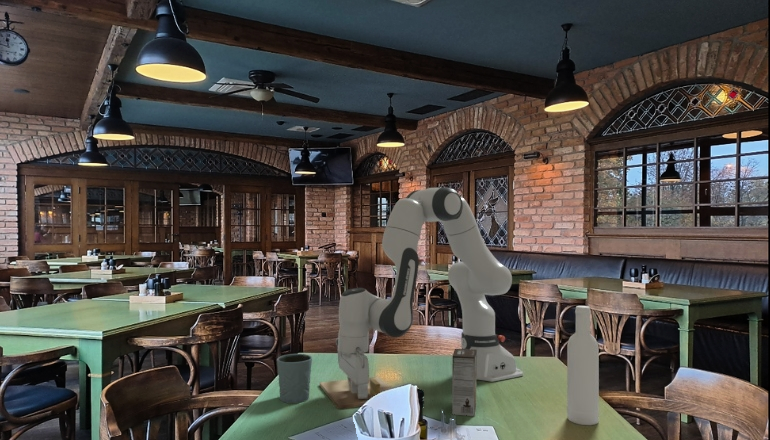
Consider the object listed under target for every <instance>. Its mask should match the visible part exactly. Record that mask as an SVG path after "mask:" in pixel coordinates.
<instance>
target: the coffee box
mask: <svg viewBox="0 0 770 440" xmlns="http://www.w3.org/2000/svg"><path fill="white" fill-rule="evenodd" d="M451 365H452V366H451V368H452V371H451V373H452V381H451V383H452V386H451V388H452V389H451V391H452V393H451V394H452V397H451V399H452V400H451V402H452V403H451V404H452V405H451V407H452V408H451V409H452V410H451V412H452V415H454V414H455V416H466V415H467V416H468V417H469V416H470V417H476V410H477V379H476V375H477V350H476V349H462V348H454V350H453V354H452V364H451Z"/></svg>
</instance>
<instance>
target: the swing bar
mask: <svg viewBox="0 0 770 440" xmlns="http://www.w3.org/2000/svg"><path fill="white" fill-rule="evenodd" d="M357 397H358V399H368V384H366V385H358V387H357Z"/></svg>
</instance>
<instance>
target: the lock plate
mask: <svg viewBox="0 0 770 440" xmlns="http://www.w3.org/2000/svg"><path fill="white" fill-rule="evenodd" d="M319 387H320V388H321V389H322V390H323V392H324V393H325V394H326V396H327V397H328V398H329V399H330V401H331V402H332V403H333V404H334V405H335V406H336V408H337V409H338V410H341V409H342V410H343V409H349V408H351V409H352V408H359V407H360V406H361V407H363V406H362V405H363V404H364V403H365V402H366V401H367V400H369V399H370V398H371V397H373V396H375V395H377V394H378V393H380V392H382V391H385V390H388V389H391V388H393V387H392V386H391V385H389V384H388V383H387V382H386V381H384V380H383V379H382V378H381V377H380V376H376V377H375V376H374V377H369V383H368V399H358V397H357V393H351V392H350V391H349V383H348V379H341V380H332V381H331V380H330V381H322V382H319ZM361 407H360V408H361Z"/></svg>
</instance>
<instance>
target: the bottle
mask: <svg viewBox="0 0 770 440" xmlns="http://www.w3.org/2000/svg"><path fill="white" fill-rule="evenodd" d="M590 307H591V306H588V305H576V307H575V311H574V313H575V332H574V333H573V334H572V335H571V336H570V337H569V338H568V342H567V347H566V348H567V353H566V355H567V356H566V357H567V359H566V361H567V362H566V363H567V364H566V365H567V366H566V367H567V368H566V369H567V371H566V373H567V374H566V376H567V380H566V381H567V383H566V385H567V388H566V390H567V391H566V393H567V395H566V396H567V399H566V401H567V402H566V404H567V405H566V413H567V414H566V415H567V420H569V421H570V422H571V423H574V424H577V425H583V426H594V425H597V424H598V423H599V419H600V409H599V408H600V407H599V406H600V404H599V403H600V400H599V399H600V398H599V397H600V396H599V391H600V390H599V386H600V385H599V382H600V379H599V376H600V375H599V372H600V371H599V369H600V368H599V363H600V362H599V361H600V359H599V344H598V340H597V339H596V337H594V336H593V335H592V334H591V313H592V312H591V308H590Z"/></svg>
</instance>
